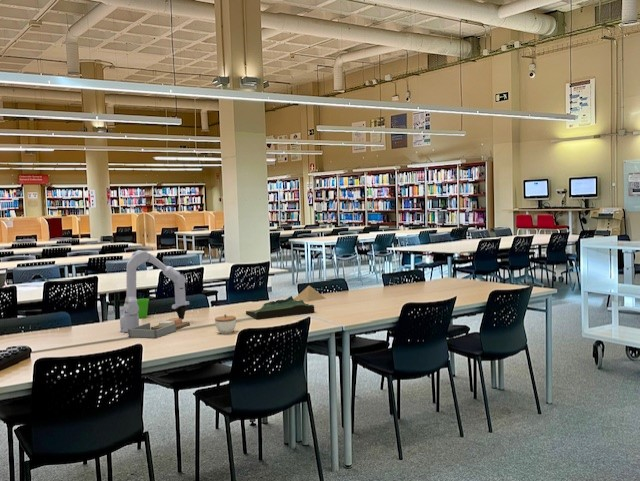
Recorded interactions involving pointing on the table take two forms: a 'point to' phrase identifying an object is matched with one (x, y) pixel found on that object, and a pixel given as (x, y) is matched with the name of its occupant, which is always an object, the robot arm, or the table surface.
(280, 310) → the topographic model
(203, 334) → the table surface
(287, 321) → the table surface
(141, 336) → the grey box
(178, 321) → the terracotta tile
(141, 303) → the cup
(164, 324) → the cream tile
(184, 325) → the walnut board
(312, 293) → the model pyramid
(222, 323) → the lidded jar
